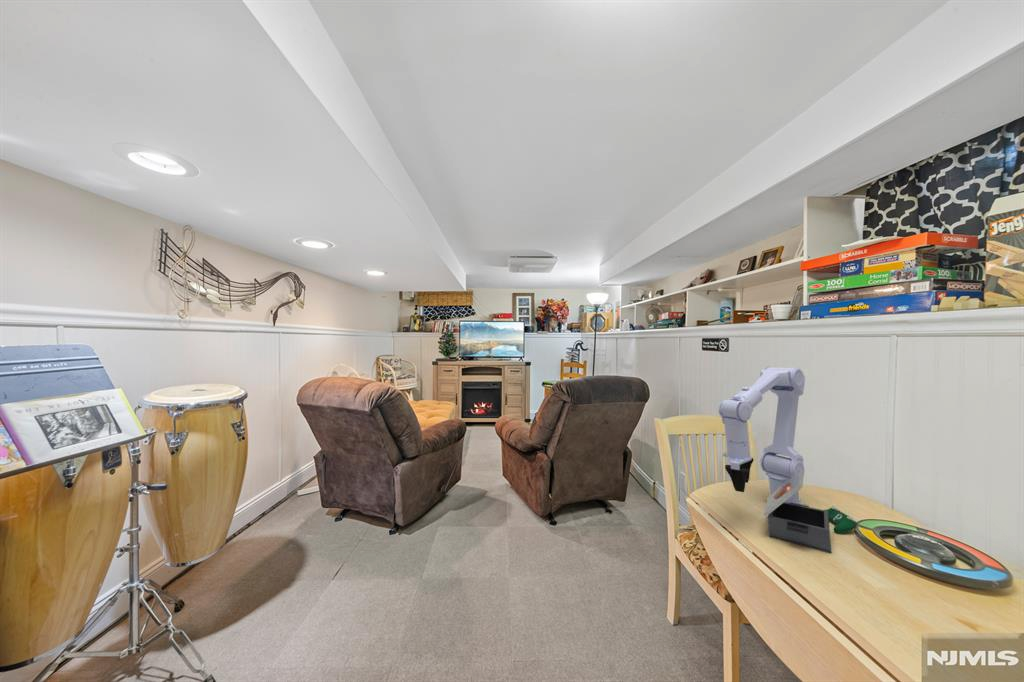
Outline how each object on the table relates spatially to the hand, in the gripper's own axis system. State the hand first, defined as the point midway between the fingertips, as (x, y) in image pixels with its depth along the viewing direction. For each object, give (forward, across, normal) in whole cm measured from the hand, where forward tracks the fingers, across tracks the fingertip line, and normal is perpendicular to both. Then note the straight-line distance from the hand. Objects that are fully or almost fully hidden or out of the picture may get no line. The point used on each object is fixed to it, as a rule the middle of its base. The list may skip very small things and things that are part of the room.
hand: (741, 486), depth 97 cm
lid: (0, -1, +10) cm, 10 cm away
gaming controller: (+11, -11, +20) cm, 25 cm away
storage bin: (+10, 0, +12) cm, 16 cm away
